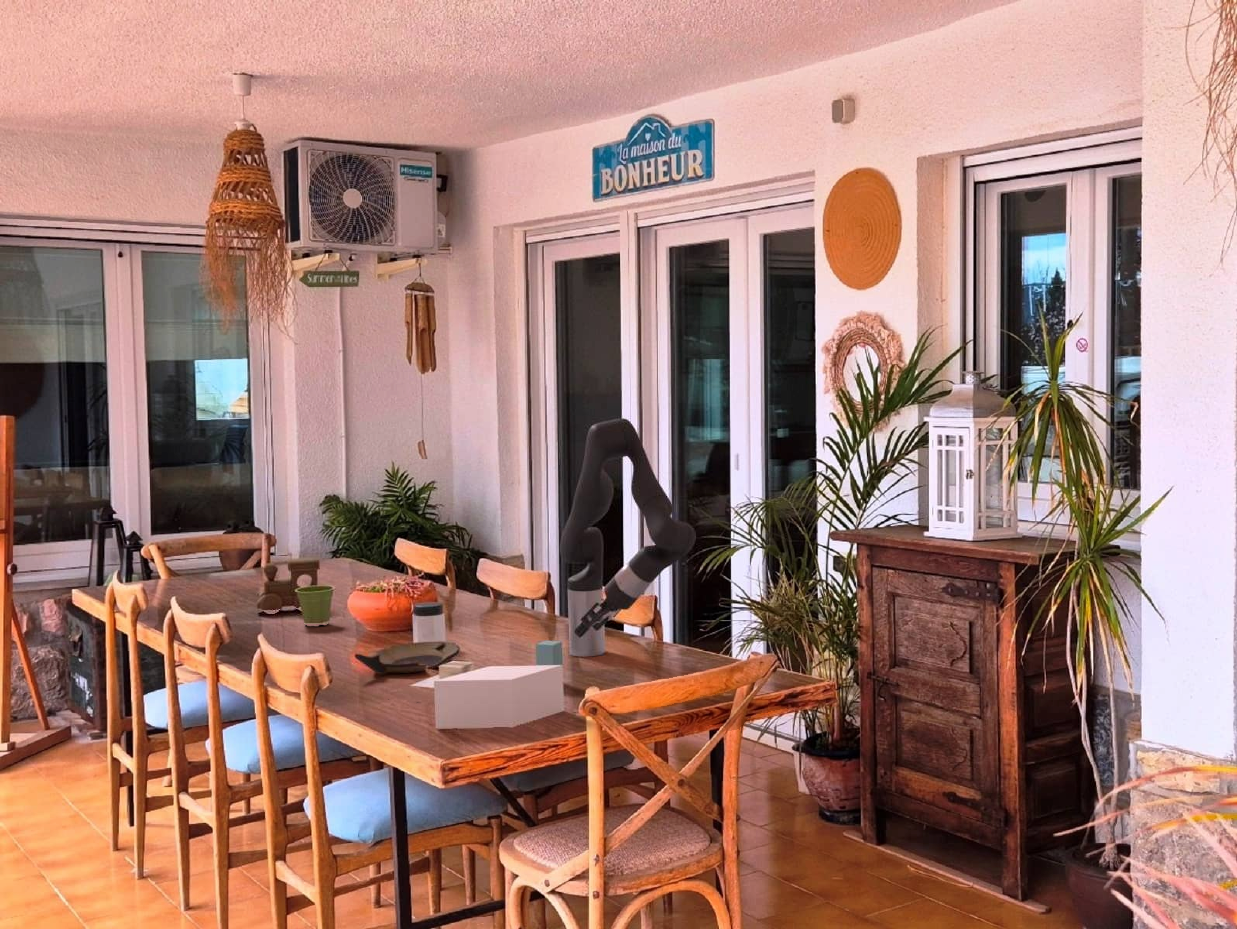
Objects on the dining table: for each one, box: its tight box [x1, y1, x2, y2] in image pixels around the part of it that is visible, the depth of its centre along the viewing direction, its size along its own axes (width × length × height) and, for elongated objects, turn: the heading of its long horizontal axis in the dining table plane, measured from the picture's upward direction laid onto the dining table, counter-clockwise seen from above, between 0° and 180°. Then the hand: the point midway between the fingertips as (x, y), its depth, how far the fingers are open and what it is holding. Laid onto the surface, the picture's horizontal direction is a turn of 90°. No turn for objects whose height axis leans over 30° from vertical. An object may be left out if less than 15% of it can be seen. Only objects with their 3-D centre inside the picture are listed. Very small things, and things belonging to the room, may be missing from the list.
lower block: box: [438, 660, 475, 680], centre depth 314 cm, size 6×6×4 cm
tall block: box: [535, 640, 563, 666], centre depth 312 cm, size 4×4×10 cm
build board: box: [409, 674, 439, 689], centre depth 314 cm, size 16×16×1 cm
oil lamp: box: [354, 641, 461, 675], centre depth 331 cm, size 22×30×8 cm
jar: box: [412, 601, 447, 643], centre depth 360 cm, size 9×8×12 cm
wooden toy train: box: [256, 557, 321, 611], centre depth 425 cm, size 20×11×17 cm, turn 107°
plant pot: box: [295, 585, 336, 623], centre depth 398 cm, size 12×12×11 cm
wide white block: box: [433, 665, 565, 730], centre depth 281 cm, size 14×29×10 cm, turn 115°
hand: (585, 631), depth 307 cm, fingers open, 8 cm apart
